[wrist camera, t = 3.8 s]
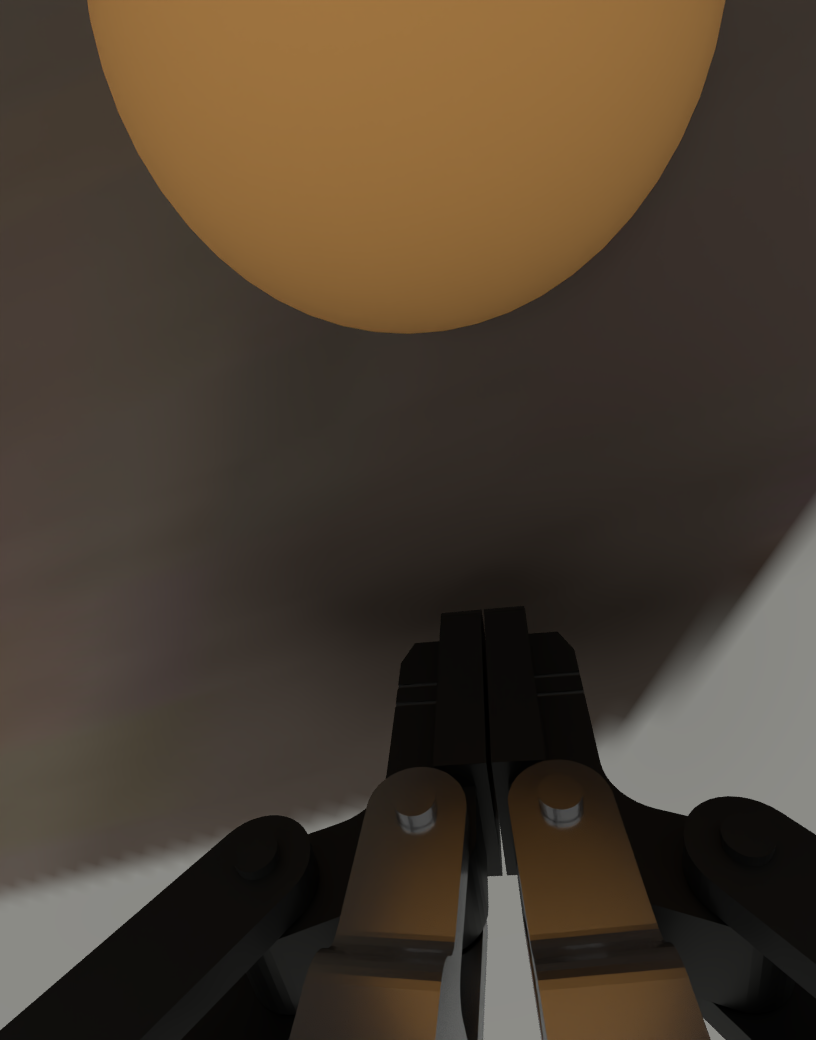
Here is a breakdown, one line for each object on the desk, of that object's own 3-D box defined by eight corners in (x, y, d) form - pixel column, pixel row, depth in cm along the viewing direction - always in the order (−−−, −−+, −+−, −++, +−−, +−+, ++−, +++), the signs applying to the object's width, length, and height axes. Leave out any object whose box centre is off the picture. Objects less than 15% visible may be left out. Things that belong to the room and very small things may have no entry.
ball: (156, -159, 9) (-352, -712, 3) (639, -288, 8) (1030, -1325, 2) (273, 316, 11) (100, 444, 6) (641, 259, 10) (828, 346, 5)
